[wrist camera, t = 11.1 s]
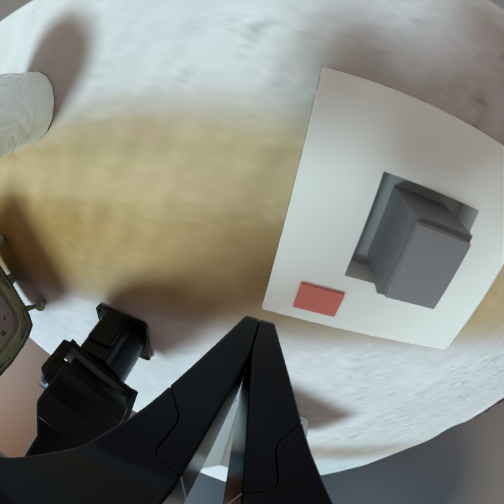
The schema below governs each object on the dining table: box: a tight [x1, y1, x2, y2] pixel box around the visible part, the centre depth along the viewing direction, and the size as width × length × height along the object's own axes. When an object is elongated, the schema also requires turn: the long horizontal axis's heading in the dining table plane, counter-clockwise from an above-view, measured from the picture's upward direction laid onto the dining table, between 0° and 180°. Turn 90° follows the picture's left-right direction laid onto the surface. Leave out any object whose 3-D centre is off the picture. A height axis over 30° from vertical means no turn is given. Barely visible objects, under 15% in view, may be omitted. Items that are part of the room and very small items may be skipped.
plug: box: [367, 185, 473, 309], centre depth 15 cm, size 5×4×5 cm
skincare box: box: [200, 390, 309, 482], centre depth 29 cm, size 10×6×10 cm, turn 56°
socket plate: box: [262, 67, 504, 350], centre depth 17 cm, size 16×16×3 cm
